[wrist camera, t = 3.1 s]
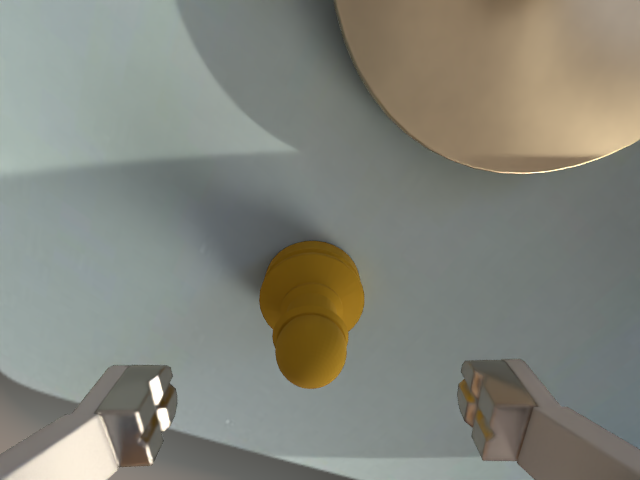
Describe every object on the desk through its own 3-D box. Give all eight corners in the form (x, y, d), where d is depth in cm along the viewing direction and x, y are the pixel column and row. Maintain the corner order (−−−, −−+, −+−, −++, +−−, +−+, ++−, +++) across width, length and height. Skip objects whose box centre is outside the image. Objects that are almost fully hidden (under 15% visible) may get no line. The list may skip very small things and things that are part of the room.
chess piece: (371, 308, 14) (398, 408, 10) (285, 334, 15) (271, 441, 10) (343, 226, 13) (358, 297, 8) (248, 258, 13) (213, 342, 9)
